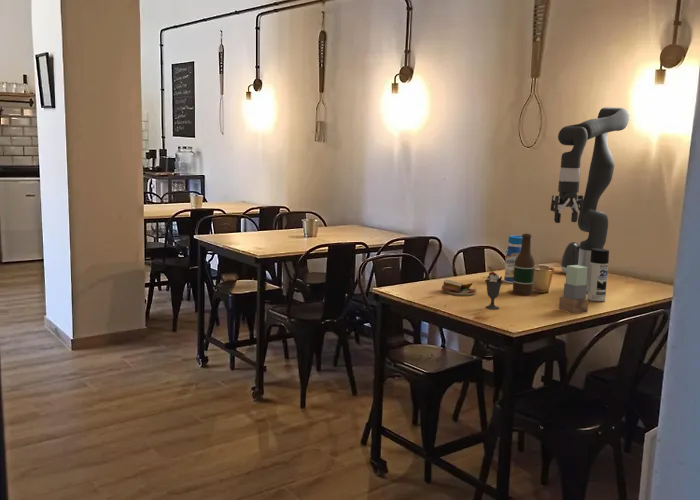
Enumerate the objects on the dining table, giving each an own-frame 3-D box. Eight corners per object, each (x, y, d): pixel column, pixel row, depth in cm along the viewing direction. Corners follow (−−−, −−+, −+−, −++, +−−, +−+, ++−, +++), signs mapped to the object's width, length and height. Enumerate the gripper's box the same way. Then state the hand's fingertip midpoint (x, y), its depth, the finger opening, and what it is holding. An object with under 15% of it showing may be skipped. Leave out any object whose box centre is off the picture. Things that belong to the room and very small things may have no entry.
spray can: (596, 302, 260) (601, 251, 257) (583, 298, 266) (587, 248, 263) (608, 301, 263) (613, 250, 260) (595, 297, 269) (599, 247, 266)
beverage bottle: (526, 281, 295) (529, 236, 292) (519, 284, 288) (523, 238, 285) (507, 279, 300) (510, 234, 296) (500, 282, 293) (504, 236, 289)
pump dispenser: (570, 276, 310) (573, 244, 307) (555, 272, 319) (557, 240, 317) (587, 275, 314) (590, 243, 312) (571, 271, 323) (574, 240, 321)
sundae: (480, 305, 249) (483, 265, 247) (498, 305, 250) (501, 265, 247) (485, 310, 243) (488, 268, 240) (503, 310, 243) (506, 269, 241)
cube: (574, 295, 249) (575, 282, 248) (585, 298, 244) (587, 285, 244) (563, 296, 247) (564, 283, 246) (574, 300, 242) (575, 286, 241)
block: (575, 282, 248) (577, 264, 247) (586, 285, 244) (587, 267, 243) (565, 283, 246) (567, 265, 245) (575, 286, 242) (577, 268, 240)
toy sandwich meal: (471, 298, 261) (472, 286, 261) (437, 294, 267) (438, 282, 266) (479, 292, 273) (480, 280, 272) (447, 288, 278) (447, 277, 277)
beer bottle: (532, 295, 268) (537, 235, 264) (512, 294, 270) (517, 234, 266) (531, 291, 276) (536, 233, 272) (512, 290, 277) (516, 232, 273)
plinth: (572, 308, 251) (573, 295, 250) (587, 312, 245) (588, 299, 244) (558, 309, 248) (559, 296, 247) (572, 314, 242) (574, 300, 241)
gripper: (575, 179, 263) (571, 220, 266) (548, 179, 257) (544, 221, 259) (590, 180, 257) (586, 223, 259) (562, 180, 250) (558, 224, 253)
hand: (565, 222), depth 259 cm, fingers open, 8 cm apart
